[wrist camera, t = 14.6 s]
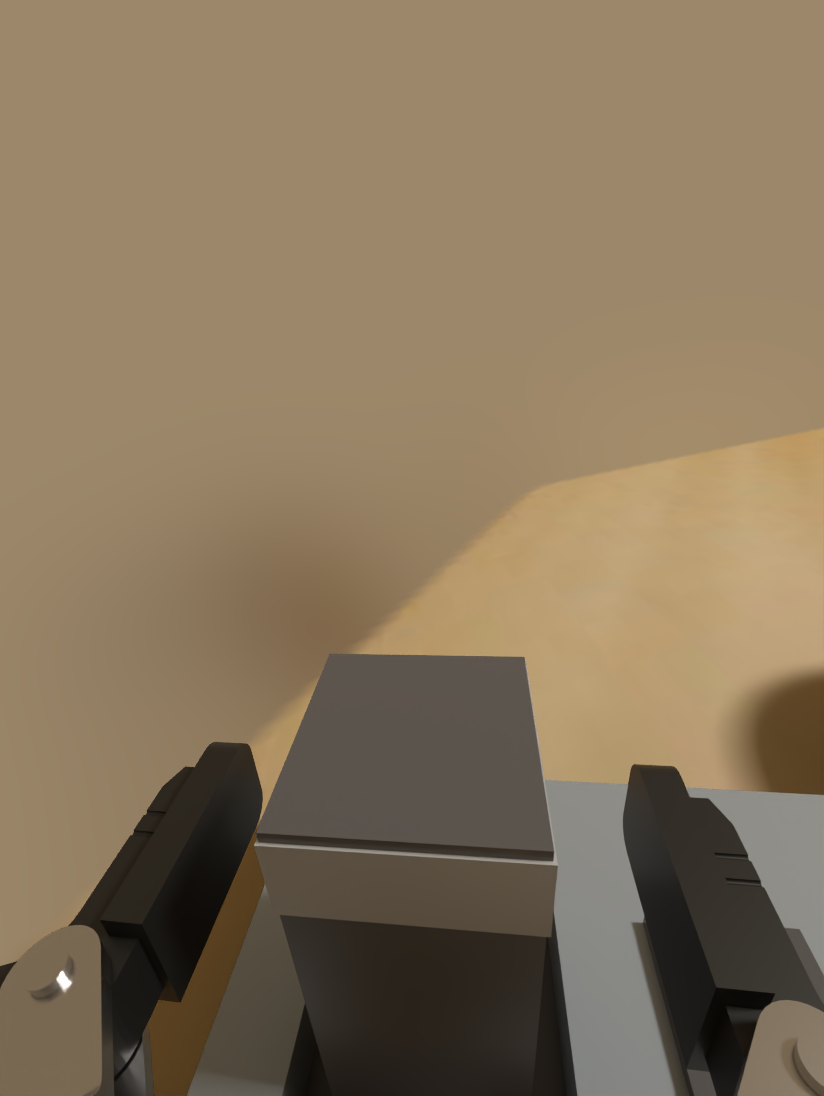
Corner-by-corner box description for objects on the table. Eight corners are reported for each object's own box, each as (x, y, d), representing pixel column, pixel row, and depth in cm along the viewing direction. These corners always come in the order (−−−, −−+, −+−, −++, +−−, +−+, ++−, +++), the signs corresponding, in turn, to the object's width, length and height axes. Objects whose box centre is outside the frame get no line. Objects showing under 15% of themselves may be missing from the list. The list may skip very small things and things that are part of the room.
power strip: (904, 863, 17) (943, 794, 15) (1705, 1900, 6) (2094, 1987, 4) (319, 823, 19) (306, 761, 18) (117, 1482, 8) (44, 1454, 7)
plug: (514, 941, 14) (526, 655, 10) (529, 1161, 11) (559, 855, 6) (372, 929, 15) (327, 651, 11) (339, 1135, 11) (251, 836, 7)
